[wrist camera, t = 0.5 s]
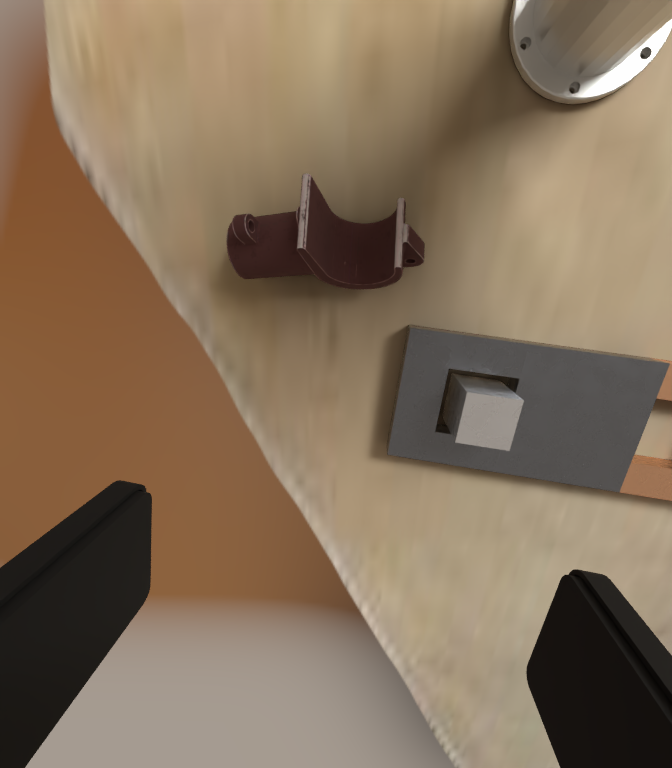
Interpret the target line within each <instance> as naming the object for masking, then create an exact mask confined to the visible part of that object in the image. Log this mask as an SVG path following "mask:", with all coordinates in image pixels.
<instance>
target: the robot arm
mask: <svg viewBox="0 0 672 768" xmlns="http://www.w3.org/2000/svg"><path fill="white" fill-rule="evenodd" d="M671 29H672V0H513V5H512V10H511V15H510V27H509V38H510V46H511V52H512V55H513V59H514V62H515V65H516V67H517V69H518V71H519V73H520V74H521V76H522V78H523V79H524V80H525V82H526V83H527V84H528V85H529V86H530V87H531V88H532V89H533V90H534V91H536V92H537V93H538V94H540V95H541V96H543V97H545V98H547V99H550V100H552V101H555V102H559V103H566V104H579V103H587V102H591V101H595V100H598V99H601V98H603V97H605V96H607V95H610V94H612V93H614V92H615V91H617V90H618V89H620V88H621V87H623V86H624V85H626V84H627V83H628V82H630V81H631V80H632V79H633V78H634V77H636V76H637V75H638V74H639V73H640V72H642V71H643V70H644V69H645V68H646V67H647V65H648V64H649V63H650V62H651V61H652V60H653V59H654V58H655V56H656V55H657V53H658V52H659V50H660V49H661V47H662V46H663V44H664V43H665V41H666V40H667V38H668V36H669V33H670V31H671ZM521 47H524V50H523V49H521ZM569 90H571V91H572V93H570V91H569ZM151 513H152V497H151V494H150V493H147V492H146V488H145V486H143V485H141V484H136V483H131V482H126V481H116V482H114V483H112V484H111V485H110V486H108V487H107V488H106V489H104V490H103V491H102V492H100V493H99V494H98V495H96V496H95V497H94V498H92V499H91V500H90V501H88V502H87V503H86V504H85V505H83V506H82V507H80V508H79V509H78V510H77V511H75V512H74V513H73V514H71V515H70V516H69V517H67V518H66V519H64V520H63V521H62V522H60V523H59V524H58V525H57V526H55V527H54V528H52V529H51V530H50V531H48V532H47V533H46V534H44V535H43V536H42V537H41V538H39V539H38V540H37V541H35V542H34V543H33V544H31V545H30V546H29V547H27V548H26V549H25V550H23V551H22V552H21V553H19V554H18V555H17V556H15V557H14V558H13V559H12V560H10V561H9V562H7V563H6V564H5V565H3V566H2V567H1V568H0V768H25V767H26V765H27V764H28V762H29V761H30V760H31V758H32V757H33V755H34V754H35V753H36V751H37V750H38V749H39V747H40V746H41V745H42V743H43V742H44V740H45V739H46V738H47V736H48V735H49V733H50V732H51V731H52V729H53V728H54V727H55V725H56V724H57V722H58V721H59V719H60V718H61V717H62V716H63V714H64V713H65V711H66V710H67V709H68V707H69V706H70V704H71V703H72V702H73V700H74V699H75V697H76V696H77V695H78V693H79V692H80V691H81V689H82V688H83V687H84V685H85V684H86V682H87V681H88V680H89V678H90V677H91V675H92V674H93V673H94V671H95V670H96V668H97V667H98V666H99V665H100V663H101V662H102V660H103V659H104V658H105V656H106V655H107V653H108V652H109V650H110V649H111V648H112V647H113V645H114V644H115V642H116V641H117V640H118V638H119V637H120V635H121V634H122V633H123V631H124V630H125V629H126V627H127V626H128V625H129V623H130V621H131V620H132V619H133V618H134V616H135V615H136V613H137V612H138V610H139V609H140V608H141V606H142V605H143V604H144V602H145V600H146V598H147V596H148V593H149V590H150V576H151ZM527 681H528V685H529V688H530V691H531V693H532V696H533V698H534V701H535V704H536V706H537V709H538V711H539V714H540V717H541V719H542V722H543V724H544V727H545V729H546V732H547V735H548V737H549V740H550V742H551V745H552V747H553V750H554V753H555V755H556V758H557V760H558V763H559V765H560V768H672V656H671V654H670V653H669V652H668V651H667V649H666V648H665V647H664V646H663V644H662V643H661V642H660V641H659V639H658V638H657V637H656V636H655V635H654V633H653V632H652V631H651V630H650V628H649V627H648V626H647V625H646V623H645V622H644V621H643V620H642V618H641V617H640V616H639V615H638V613H637V612H636V611H635V610H634V609H633V607H632V606H631V605H630V604H629V602H628V601H627V600H626V599H625V597H624V596H623V595H622V594H621V592H620V591H619V590H618V589H617V587H616V586H615V585H614V584H613V582H612V581H611V580H610V579H609V578H608V577H607V576H605V575H602V574H598V573H593V572H587V571H582V570H572V571H571V572H570V573H569V575H564V576H563V577H562V578H561V580H560V583H559V585H558V588H557V591H556V593H555V596H554V598H553V601H552V603H551V606H550V609H549V611H548V614H547V616H546V619H545V621H544V624H543V626H542V629H541V632H540V634H539V637H538V639H537V642H536V644H535V647H534V649H533V652H532V655H531V657H530V660H529V662H528V665H527Z"/></svg>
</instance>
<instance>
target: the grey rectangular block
mask: <svg viewBox="0 0 672 768" xmlns="http://www.w3.org/2000/svg"><path fill="white" fill-rule="evenodd" d="M523 402H524V400H523V399H522V398H520V397H519V396H518V395H517V394H515V393H514V392H513V391H512V390H510V389H509V388H508V387H507V386H505V385H504V384H503V383H502V382H501V381H499V380H494V379H488V378H481V377H474V376H467V375H460V374H453V373H452V375H451V379H450V384H449V388H448V393H447V397H446V402H445V406H444V411H443V415H442V417H443V419H444V421H445V423H446V425H447V427H448V429H449V431H450V433H451V435H452V437H453V439H454V441H455V443H462V444H468V445H474V446H481V447H487V448H493V449H500V450H506V451H510V448H511V444H512V441H513V437H514V434H515V430H516V427H517V423H518V420H519V416H520V413H521V409H522V406H523Z"/></svg>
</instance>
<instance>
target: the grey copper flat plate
mask: <svg viewBox="0 0 672 768" xmlns="http://www.w3.org/2000/svg"><path fill="white" fill-rule="evenodd" d="M449 368H450V369H456V370H463V371H470V372H477V373H484V374H491V375H498V376H505V377H510V378H509V382H508V385H507V387H508V388H509V389H510V390H512V391H513V392H514V393H515V394H517V395H518V396H519V397H520V398H522V399H523V400H524V402H523V406H522V409H521V413H520V416H519V420H518V423H517V427H516V430H515V434H514V437H513V441H512V444H511V448H510V451H506V450H500V449H493V448H487V447H481V446H474V445H468V444H462V443H455V441H454V439H453V437H452V435H451V433H450V431H449V429H448V427H447V425H440V424H437V421H438V416H439V411H440V407H441V402H442V398H443V393H444V389H445V384H446V379H447V375H448V370H449ZM656 398H657V399H663V400H670V401H672V361H667V360H660V359H653V358H645V357H638V356H631V355H624V354H616V353H609V352H602V351H595V350H587V349H580V348H573V347H566V346H558V345H551V344H544V343H537V342H529V341H522V340H515V339H508V338H500V337H493V336H486V335H479V334H471V333H464V332H457V331H450V330H442V329H435V328H428V327H420V326H413V325H408V330H407V336H406V341H405V347H404V353H403V358H402V364H401V369H400V375H399V380H398V386H397V391H396V397H395V402H394V408H393V414H392V419H391V425H390V430H389V436H388V441H387V455H393V456H399V457H405V458H412V459H418V460H424V461H430V462H436V463H442V464H448V465H455V466H461V467H467V468H473V469H479V470H485V471H491V472H498V473H504V474H510V475H516V476H522V477H528V478H534V479H541V480H547V481H553V482H559V483H565V484H571V485H577V486H584V487H590V488H596V489H602V490H608V491H614V492H620V493H627V494H633V495H639V496H645V497H651V498H657V499H663V500H670V501H672V460H665V459H659V458H652V457H646V456H640V455H634V454H635V451H636V449H637V446H638V444H639V441H640V439H641V436H642V434H643V431H644V429H645V426H646V424H647V421H648V418H649V416H650V413H651V411H652V408H653V406H654V403H655V401H656Z"/></svg>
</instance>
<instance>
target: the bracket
mask: <svg viewBox="0 0 672 768" xmlns="http://www.w3.org/2000/svg"><path fill="white" fill-rule="evenodd" d="M405 208H406V204H405V200H404V198H398V200H397V209H396V211H395V212H394V213H393V214H392V215H391V216H390V217H388V218H387V219H384V220H382V221H379V222H375V223H367V224H361V223H353V222H349V221H346V220H343V219H341V218H339V217H338V216H336V215H335V214H334V213H333V212H332V211H331V209H330V208H329V206H328V204H327V203H326V201H325V199H324V197H323V196H322V194H321V192H320V190H319V189H318V187H317V185H316V183H315V182H314V180H313V178H312V176H311V175H310V174H303V175H302V187H301V201H300V207H298V209H297V211H295V212H288V213H280V214H273V215H265V216H258V217H254V216H253V215H252V214H242V215H236V216H234V218H233V221H232V223H231V224H230V226H229V228H228V232H227V250H228V255H229V258H230V261H231V264H232V266H233V268H234V270H235V271H236V272H237V274H238V275H239V276H240V277H242V278H244V279H255V278H269V277H282V276H295V275H309V274H315V275H316V277H317V278H319V279H320V280H322V281H323V282H325V283H328V284H330V285H333V286H337V287H342V288H348V289H375V288H381V287H385V286H388V285H391V284H393V283H395V282H397V281H398V280H399V279H400V278H401V277H402V274H403V267H414V266H418V265H421V264H422V263H423V262H424V242H423V241H422V240H421V238H420V237H419V236H418V235H417V234H416V232H415V231H414V230H413V229H412V228H411V226H410V225H409V224H405Z"/></svg>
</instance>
